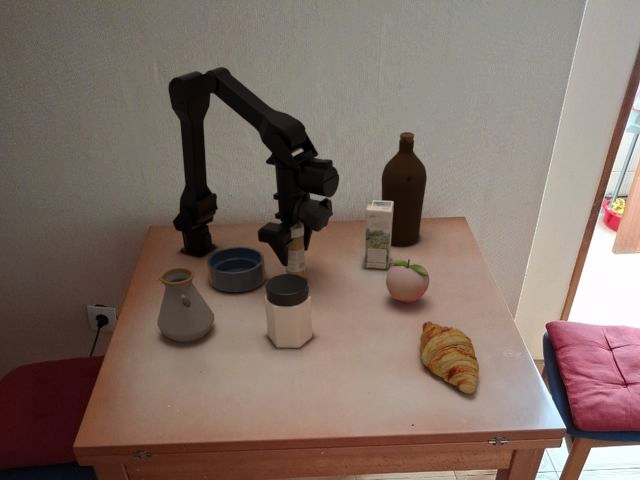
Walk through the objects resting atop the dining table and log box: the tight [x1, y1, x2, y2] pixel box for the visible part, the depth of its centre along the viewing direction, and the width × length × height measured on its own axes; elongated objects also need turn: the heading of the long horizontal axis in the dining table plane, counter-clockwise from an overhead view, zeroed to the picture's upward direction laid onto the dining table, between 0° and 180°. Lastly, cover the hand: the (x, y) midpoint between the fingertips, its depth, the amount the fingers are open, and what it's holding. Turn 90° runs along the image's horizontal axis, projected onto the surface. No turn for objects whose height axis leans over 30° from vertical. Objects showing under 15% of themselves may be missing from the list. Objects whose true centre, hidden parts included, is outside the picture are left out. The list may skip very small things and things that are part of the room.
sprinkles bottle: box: [285, 223, 307, 280], centre depth 136 cm, size 5×5×14 cm
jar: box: [264, 273, 313, 349], centre depth 119 cm, size 9×8×12 cm
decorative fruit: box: [385, 259, 430, 303], centre depth 129 cm, size 9×8×10 cm
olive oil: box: [381, 131, 428, 247], centre depth 147 cm, size 11×11×25 cm
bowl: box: [206, 246, 267, 293], centre depth 139 cm, size 13×13×5 cm
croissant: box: [419, 321, 480, 394], centre depth 113 cm, size 21×10×8 cm, turn 16°
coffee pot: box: [157, 267, 215, 343], centre depth 117 cm, size 21×12×15 cm, turn 18°
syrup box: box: [364, 199, 394, 271], centre depth 140 cm, size 6×6×14 cm
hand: (295, 258), depth 136 cm, fingers closed on sprinkles bottle, 8 cm apart
